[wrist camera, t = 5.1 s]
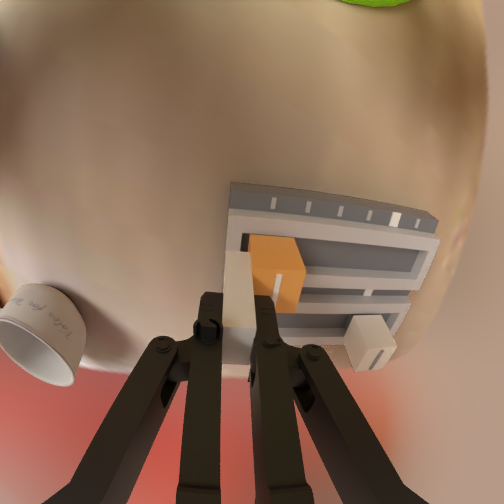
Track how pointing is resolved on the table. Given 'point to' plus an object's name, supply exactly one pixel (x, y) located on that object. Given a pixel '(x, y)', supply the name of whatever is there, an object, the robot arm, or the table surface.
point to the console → (338, 255)
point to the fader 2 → (368, 342)
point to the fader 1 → (277, 270)
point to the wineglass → (376, 2)
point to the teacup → (43, 333)
